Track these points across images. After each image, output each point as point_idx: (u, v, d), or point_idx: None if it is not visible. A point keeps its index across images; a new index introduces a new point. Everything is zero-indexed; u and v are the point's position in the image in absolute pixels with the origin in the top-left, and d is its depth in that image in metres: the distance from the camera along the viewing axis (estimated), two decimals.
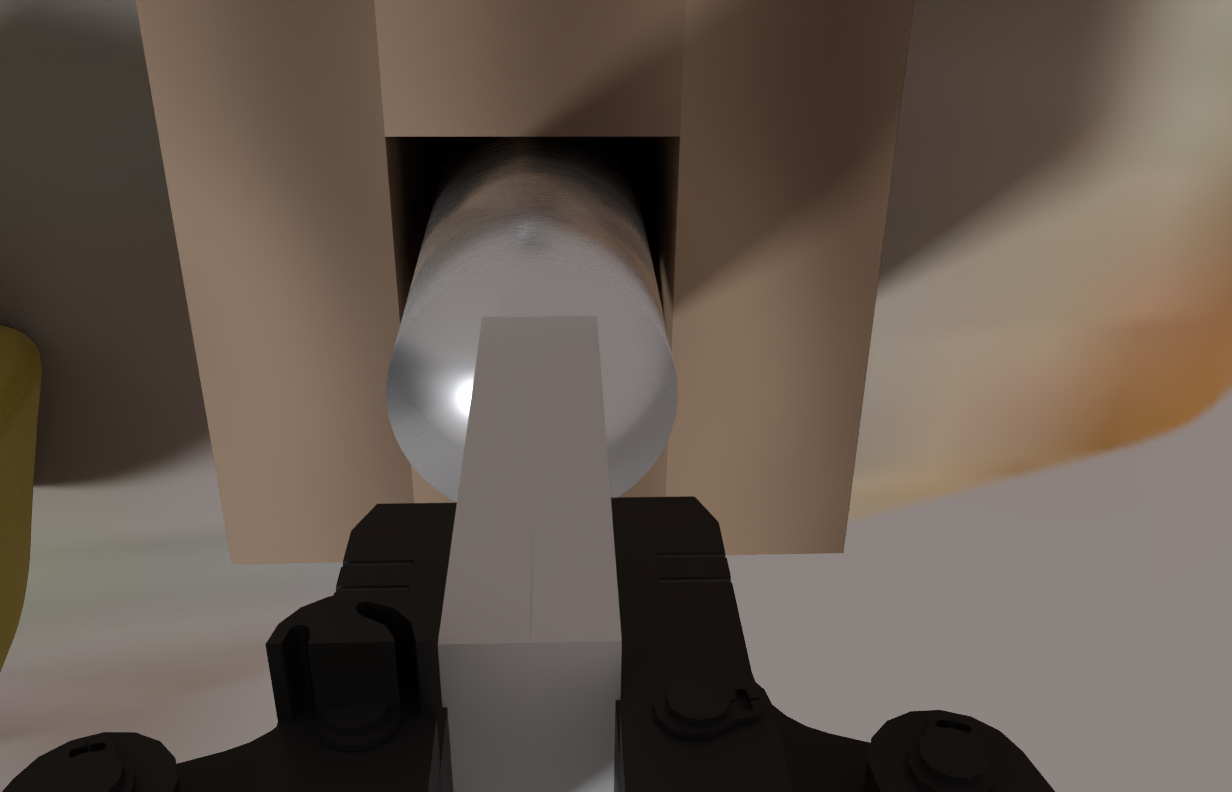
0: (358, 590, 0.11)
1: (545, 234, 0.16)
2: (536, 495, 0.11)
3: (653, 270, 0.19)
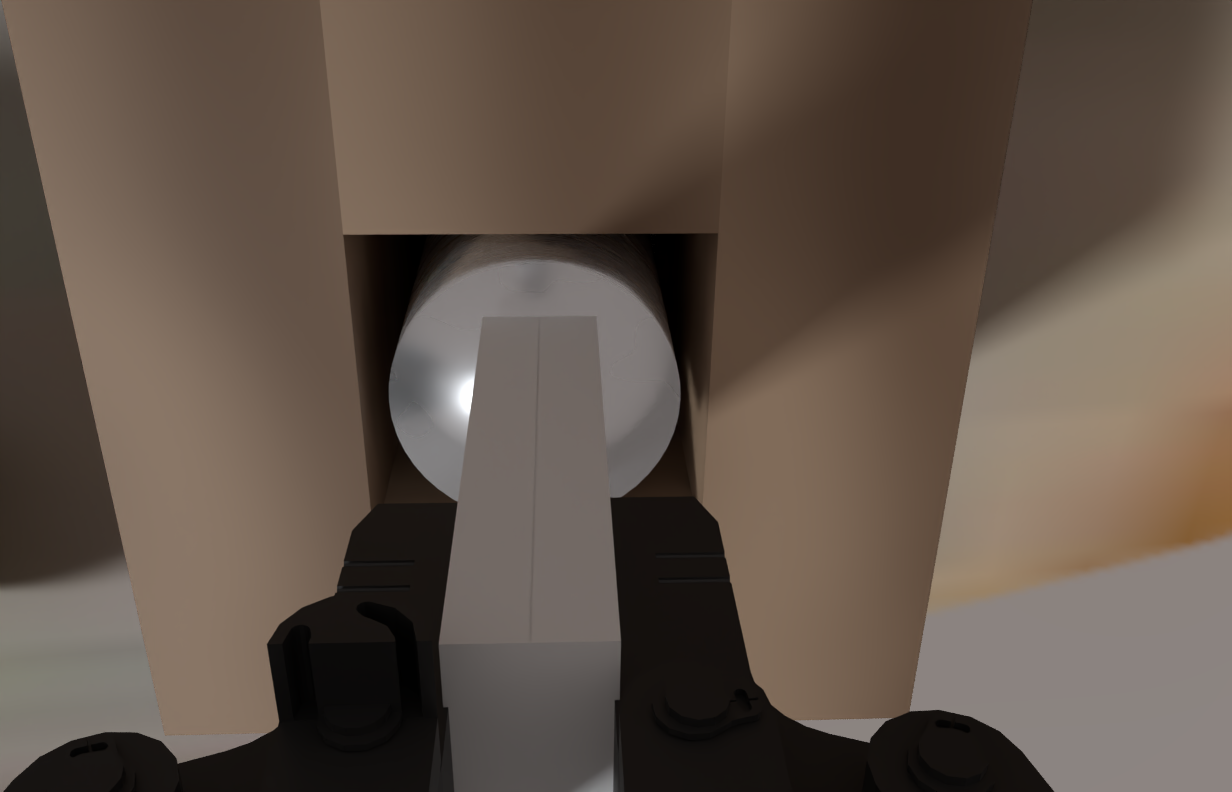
0: (359, 590, 0.11)
1: (548, 234, 0.16)
2: (537, 495, 0.11)
3: (656, 270, 0.19)
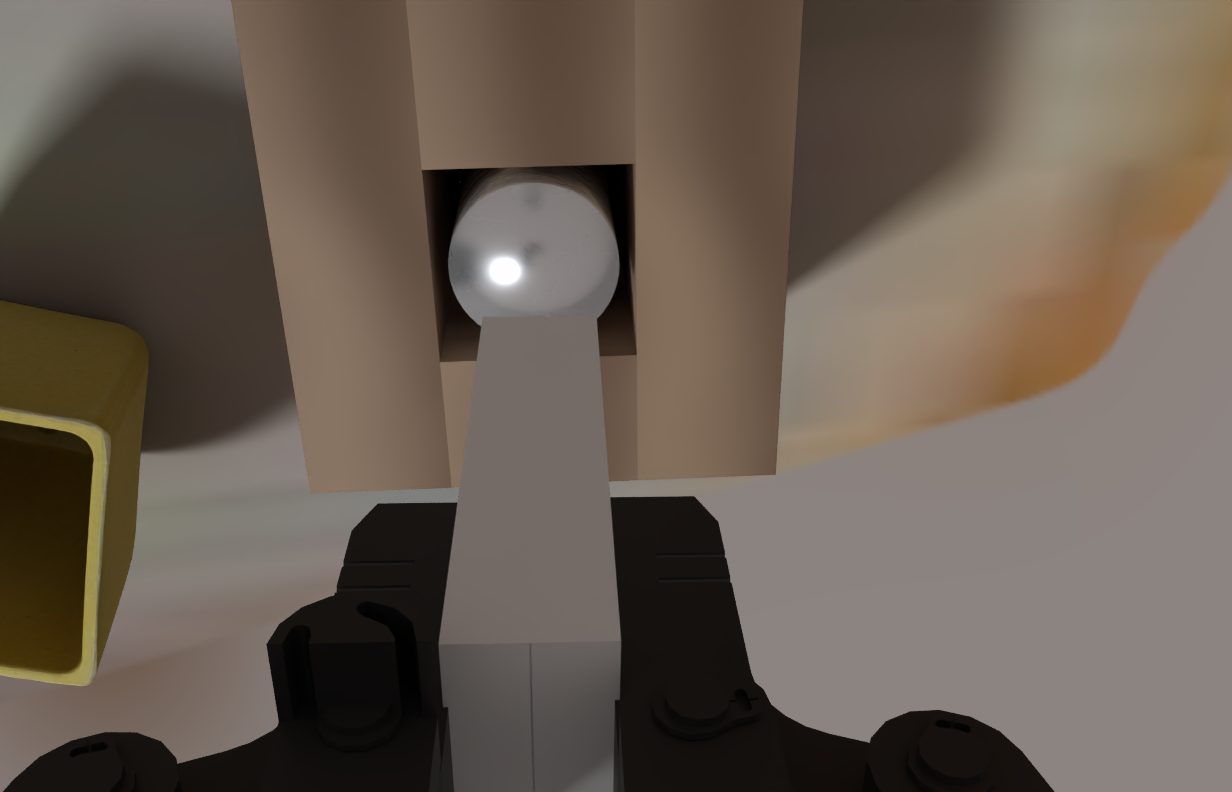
0: (359, 590, 0.11)
1: (538, 169, 0.27)
2: (537, 495, 0.11)
3: (608, 195, 0.30)
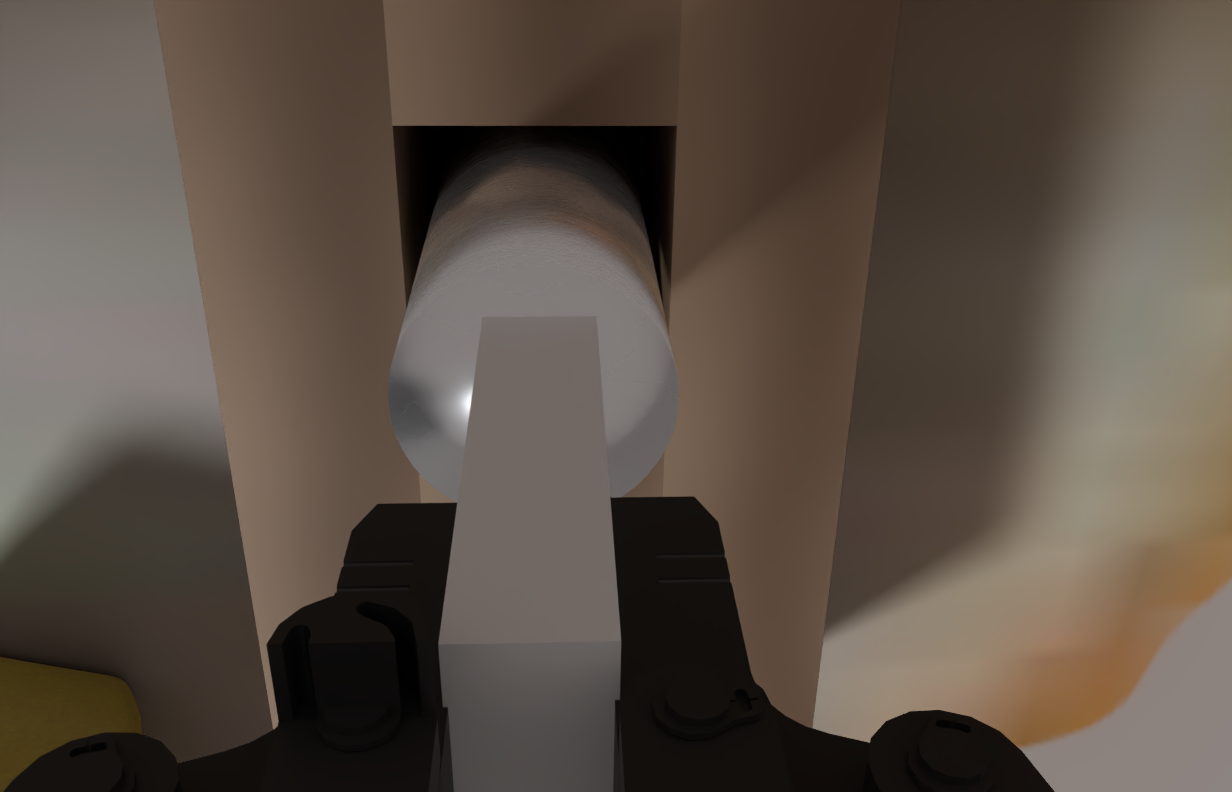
0: (359, 590, 0.11)
1: None
2: (537, 495, 0.11)
3: None
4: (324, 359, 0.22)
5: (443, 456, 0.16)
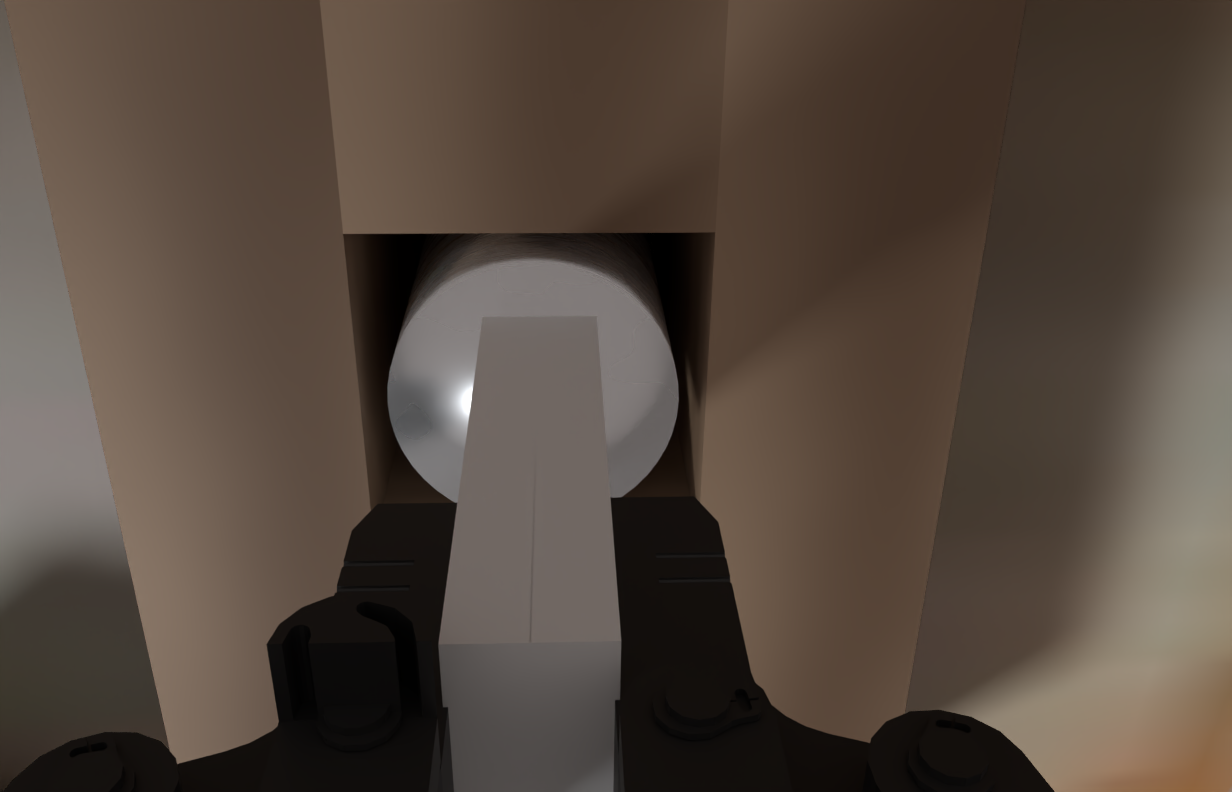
0: (359, 590, 0.11)
1: None
2: (537, 495, 0.11)
3: None
4: (261, 518, 0.17)
5: (443, 457, 0.16)
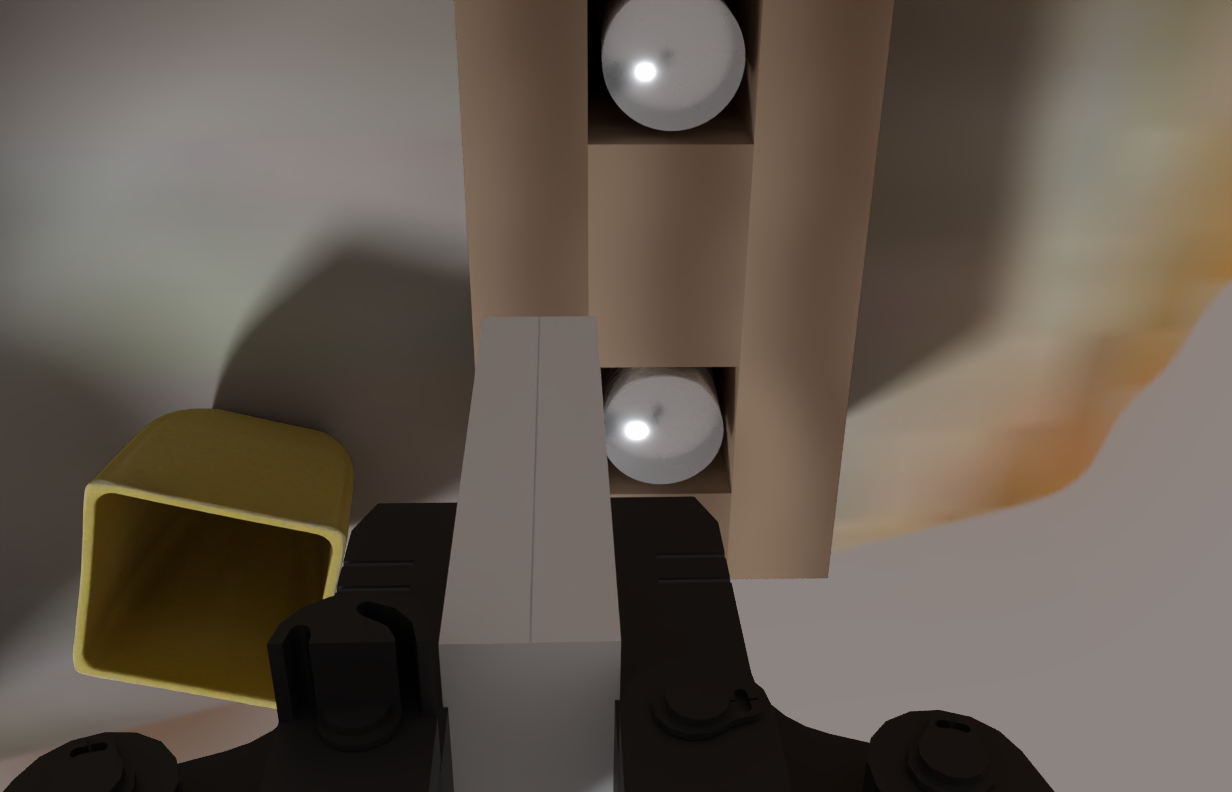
0: (359, 590, 0.11)
1: None
2: (537, 495, 0.11)
3: (711, 370, 0.41)
4: (532, 129, 0.33)
5: (627, 90, 0.33)
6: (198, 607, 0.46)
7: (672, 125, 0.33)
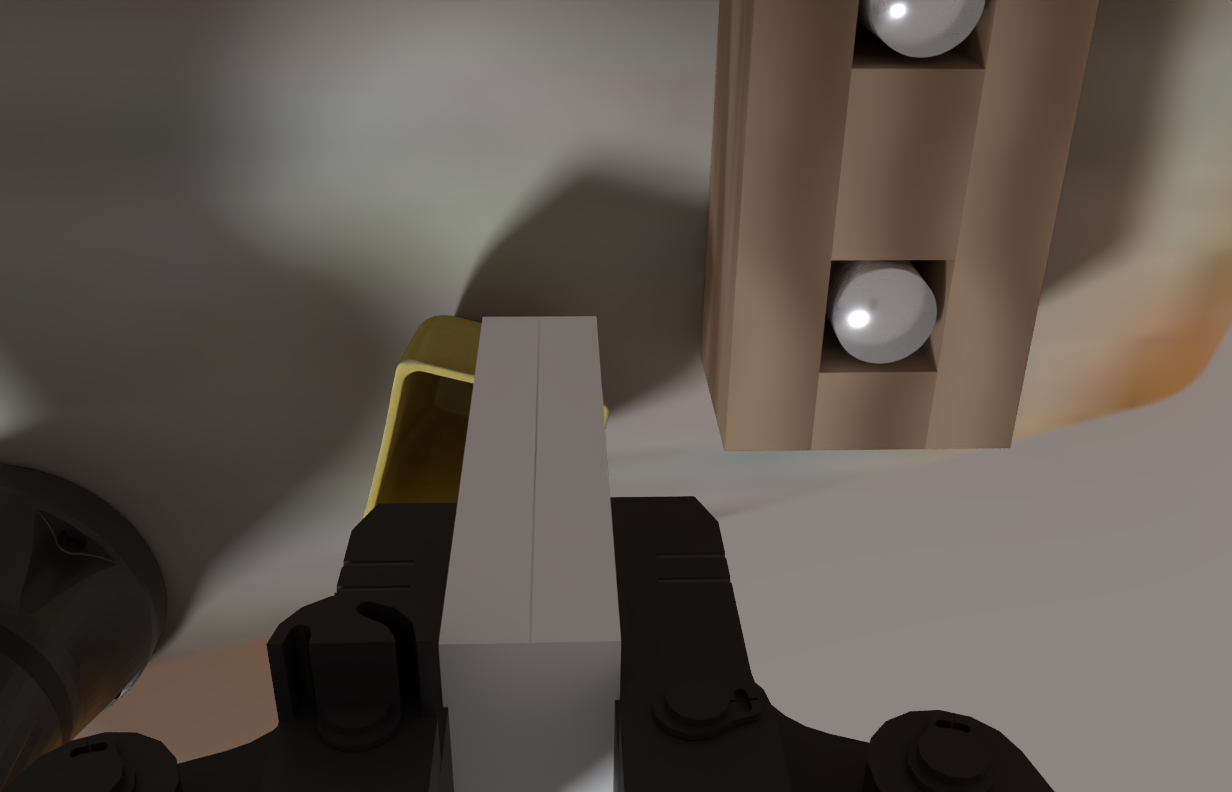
0: (359, 590, 0.11)
1: None
2: (537, 495, 0.11)
3: None
4: (808, 55, 0.41)
5: (888, 23, 0.41)
6: (449, 488, 0.53)
7: (922, 52, 0.41)
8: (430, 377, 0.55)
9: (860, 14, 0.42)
